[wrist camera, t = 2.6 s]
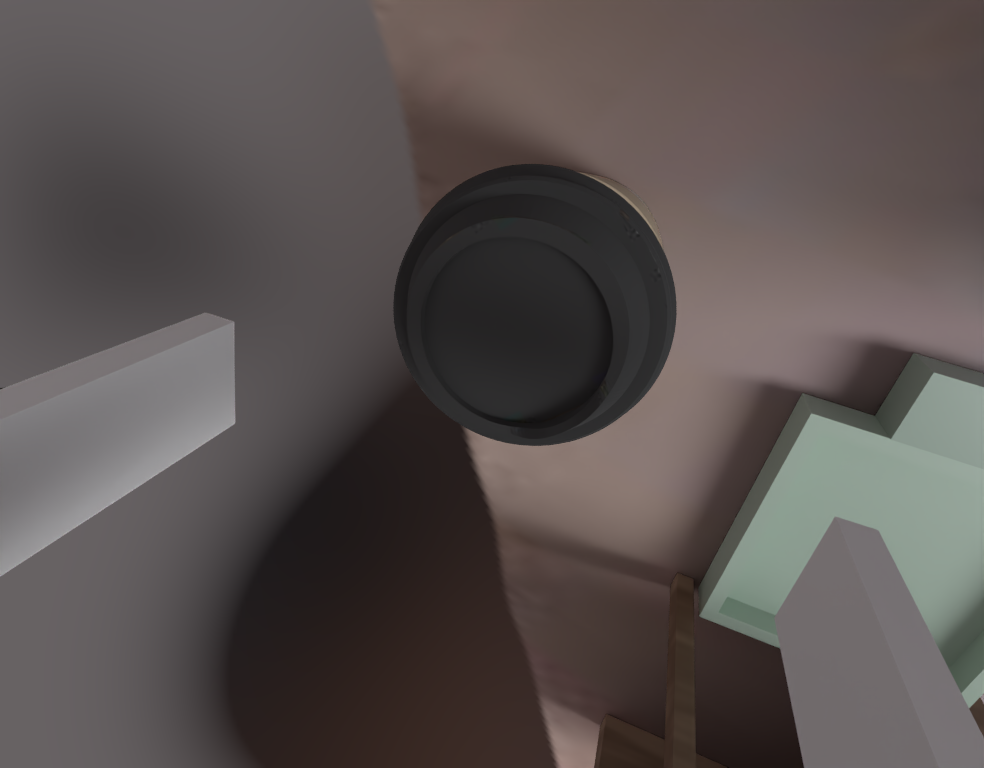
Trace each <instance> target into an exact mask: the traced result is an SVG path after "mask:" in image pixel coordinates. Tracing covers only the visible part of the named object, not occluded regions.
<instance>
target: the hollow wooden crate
mask: <svg viewBox="0 0 984 768" xmlns="http://www.w3.org/2000/svg"><path fill="white" fill-rule="evenodd" d="M969 709H970V711H971V713H972V715H973V717H974V719H975V721H976V723H977V725H978V727H979V729H980V731H981V733H982V735H983V737H984V704H983V702H982V700H981V698H979V699H978V700H977V701H976V702H975V703H974V704H973V705H972V706H971V707H970V708H969ZM594 768H728V767H726V766H723V765H721V764H719V763H717V762H714V761H712V760H710V759H707V758H705V757H703V756H701V755H698V754H696V740H695V665H694V590H693V579H692V578H690V577H687V576H685V575H682V574H679V573H677V574H676V576H675V578H674V580H673V582H672V584H671V586H670V611H669V638H668V664H667V691H666V717H665V740H664V739H662V738H660V737H657V736H655V735H653V734H651V733H648V732H646V731H644V730H642V729H639V728H637V727H635V726H632V725H630V724H628V723H626V722H623V721H621V720H619V719H616V718H614V717H612V716H610V715H607V714H606V716H605V718H604V720H603V722H602V724H601V726H600V731H599V738H598V745H597V752H596V759H595V765H594Z"/></svg>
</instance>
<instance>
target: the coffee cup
mask: <svg viewBox="0 0 984 768" xmlns="http://www.w3.org/2000/svg"><path fill="white" fill-rule="evenodd" d="M394 323H395V330H396V335H397V340H398V343H399V347H400V350H401V352H402V356H403V358H404V360H405V363H406V365H407V367H408V369H409V371H410V373H411V374H412V376H413V378H414V379H415V381H416V382H417V384H418V385H419V387H420V388H421V389H422V391H423V392H424V393H425V394H426V395H427V397H428V398H429V399H430V400H431V401H432V402H433V403H434V404H435V405H436V406H437V407H438V408H439V409H440V410H441V411H443V412H444V413H445V414H446V415H447V416H449V417H450V418H451V419H453V420H454V421H456V422H457V423H459V424H460V425H462V426H464V427H466V428H467V429H469V430H471V431H473V432H475V433H478V434H480V435H482V436H485V437H488V438H491V439H494V440H497V441H501V442H506V443H511V444H517V445H529V446H542V445H554V444H560V443H565V442H570V441H573V440H577V439H580V438H583V437H586V436H588V435H591V434H593V433H595V432H597V431H599V430H601V429H603V428H605V427H606V426H608V425H610V424H611V423H613V422H614V421H616V420H617V419H618V418H620V417H621V416H622V415H624V414H625V413H626V412H628V411H629V410H630V409H631V408H632V407H634V406H635V405H636V404H637V403H638V402H639V401H640V400H641V399H642V398H643V397H644V396H645V394H646V393H647V392H648V391H649V389H650V388H651V387H652V385H653V384H654V382H655V381H656V379H657V378H658V376H659V374H660V372H661V371H662V369H663V367H664V364H665V362H666V360H667V357H668V355H669V352H670V349H671V345H672V341H673V337H674V332H675V325H676V294H675V287H674V282H673V277H672V273H671V270H670V266H669V263H668V260H667V258H666V255H665V253H664V249H663V245H662V240H661V236H660V232H659V230H658V227H657V224H656V222H655V220H654V218H653V216H652V214H651V213H650V211H649V210H648V208H647V206H646V205H645V203H644V202H643V201H642V200H641V199H640V198H639V197H638V196H637V195H636V194H635V193H634V192H633V191H631V190H630V189H629V188H627V187H625V186H624V185H622V184H619V183H617V182H615V181H613V180H611V179H608V178H605V177H602V176H598V175H593V174H587V173H582V172H576V171H573V170H569V169H566V168H561V167H556V166H550V165H541V164H521V165H512V166H506V167H501V168H497V169H493V170H490V171H487V172H484V173H482V174H479V175H477V176H475V177H472V178H470V179H469V180H467V181H465V182H463V183H462V184H460V185H459V186H457V187H455V188H454V189H453V190H451V191H450V192H449V193H448V194H446V195H445V196H444V197H443V198H442V199H441V200H440V201H439V202H438V203H437V204H436V205H435V206H434V207H433V208H432V209H431V211H430V212H429V213H428V214H427V216H426V217H425V218H424V220H423V221H422V223H421V224H420V226H419V228H418V230H417V231H416V233H415V235H414V237H413V239H412V242H411V244H410V245H409V247H408V249H407V251H406V253H405V256H404V258H403V260H402V263H401V266H400V269H399V272H398V276H397V281H396V285H395V292H394Z"/></svg>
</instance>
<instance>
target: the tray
mask: <svg viewBox="0 0 984 768" xmlns="http://www.w3.org/2000/svg"><path fill="white" fill-rule="evenodd" d="M835 516H836V517H839V518H842V519H845V520H848V521H851V522H854V523H857V524H860V525H864V526H867V527H870V528H873V529H876V530H879V532H880V534H881V536H882V538H883V540H884V542H885V544H886V546H887V548H888V550H889V552H890V554H891V556H892V558H893V560H894V562H895V564H896V566H897V568H898V570H899V572H900V574H901V576H902V578H903V580H904V582H905V584H906V586H907V587H908V589H909V591H910V593H911V595H912V597H913V599H914V601H915V603H916V605H917V607H918V609H919V611H920V613H921V615H922V617H923V619H924V621H925V623H926V625H927V627H928V629H929V631H930V633H931V635H932V637H933V639H934V641H935V643H936V645H937V646H938V648H939V650H940V652H941V654H942V656H943V658H944V660H945V662H946V664H947V666H948V668H949V670H950V672H951V674H952V676H953V678H954V680H955V682H956V684H957V686H958V688H959V690H960V692H961V694H962V696H963V698H964V700H965V702H966V704H967V705H968V707H969V708H970V707H971V706H972V705H973V704H974V703H975V702H976V701H977V700H978V699H979V698H980V697H981V696H982V695H983V694H984V373H980V372H977V371H974V370H970V369H967V368H963V367H960V366H956V365H953V364H950V363H946V362H943V361H939V360H936V359H933V358H929V357H926V356H922V355H919V354H915V353H913V355H912V356H911V358H910V360H909V361H908V363H907V365H906V366H905V368H904V369H903V371H902V373H901V374H900V376H899V378H898V379H897V381H896V382H895V384H894V386H893V387H892V389H891V391H890V392H889V394H888V395H887V397H886V399H885V400H884V402H883V404H882V405H881V407H880V409H879V410H878V412H877V413H876V415H875V416H874V415H870V414H867V413H864V412H861V411H858V410H855V409H851V408H848V407H845V406H842V405H839V404H835V403H832V402H829V401H826V400H823V399H820V398H816V397H813V396H810V395H807V394H804V393H802V395H801V396H800V398H799V400H798V402H797V404H796V406H795V408H794V410H793V411H792V413H791V415H790V417H789V419H788V421H787V423H786V425H785V426H784V428H783V430H782V432H781V434H780V436H779V438H778V440H777V441H776V443H775V445H774V447H773V449H772V451H771V453H770V455H769V456H768V458H767V460H766V462H765V464H764V466H763V468H762V469H761V471H760V473H759V475H758V477H757V479H756V481H755V483H754V484H753V486H752V488H751V490H750V492H749V494H748V496H747V498H746V499H745V501H744V503H743V505H742V507H741V509H740V511H739V513H738V514H737V516H736V518H735V520H734V522H733V524H732V526H731V528H730V529H729V531H728V533H727V535H726V537H725V539H724V541H723V543H722V544H721V546H720V548H719V550H718V552H717V554H716V556H715V557H714V559H713V561H712V563H711V565H710V567H709V569H708V571H707V572H706V574H705V576H704V578H703V580H702V582H701V584H700V586H699V587H698V593H699V617H702V618H704V619H707V620H709V621H712V622H714V623H717V624H719V625H722V626H724V627H727V628H730V629H732V630H735V631H737V632H740V633H742V634H745V635H747V636H750V637H752V638H755V639H757V640H760V641H762V642H765V643H767V644H770V645H772V646H775V647H778V648H780V644H779V639H778V634H777V629H776V624H775V619H774V618H775V616H776V614H777V613H778V611H779V609H780V608H781V606H782V604H783V603H784V601H785V599H786V598H787V596H788V594H789V592H790V591H791V589H792V587H793V586H794V584H795V582H796V581H797V579H798V577H799V576H800V574H801V572H802V571H803V569H804V567H805V566H806V564H807V562H808V561H809V559H810V557H811V556H812V554H813V552H814V551H815V549H816V547H817V546H818V544H819V542H820V541H821V539H822V537H823V536H824V534H825V532H826V531H827V529H828V527H829V526H830V524H831V522H832V521H833V519H834V517H835Z"/></svg>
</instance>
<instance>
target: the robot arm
mask: <svg viewBox="0 0 984 768" xmlns="http://www.w3.org/2000/svg"><path fill="white" fill-rule="evenodd" d="M234 359H235V358H234V321H230V320H227V319H224V318H221V317H218V316H215V315H212V314H209V313H203V314H200V315H198V316H195V317H192V318H190V319H187V320H184V321H182V322H179V323H176V324H174V325H171V326H168V327H166V328H163V329H161V330H158V331H155V332H152V333H150V334H147V335H144V336H142V337H139V338H136V339H134V340H131V341H128V342H126V343H123V344H120V345H118V346H115V347H113V348H110V349H107V350H104V351H102V352H99V353H96V354H93V355H91V356H88V357H85V358H83V359H80V360H77V361H75V362H72V363H70V364H67V365H64V366H61V367H59V368H56V369H53V370H51V371H48V372H45V373H43V374H40V375H37V376H35V377H32V378H30V379H27V380H24V381H21V382H19V383H16V384H14V385H11V386H8V387H4V388H0V576H1V575H3V574H5V573H6V572H8V571H9V570H11V569H12V568H14V567H15V566H17V565H19V564H20V563H22V562H23V561H25V560H26V559H28V558H29V557H31V556H32V555H34V554H35V553H37V552H39V551H40V550H42V549H43V548H45V547H46V546H48V545H49V544H51V543H52V542H54V541H55V540H57V539H58V538H60V537H61V536H63V535H65V534H66V533H68V532H69V531H71V530H72V529H74V528H75V527H77V526H79V525H80V524H82V523H83V522H85V521H86V520H88V519H89V518H91V517H92V516H94V515H95V514H97V513H98V512H100V511H102V510H103V509H105V508H106V507H108V506H109V505H111V504H112V503H114V502H115V501H117V500H118V499H120V498H122V497H123V496H125V495H126V494H128V493H129V492H131V491H132V490H134V489H135V488H137V487H138V486H140V485H141V484H143V483H145V482H146V481H148V480H149V479H151V478H152V477H154V476H155V475H157V474H158V473H160V472H162V471H163V470H164V469H166V468H168V467H169V466H171V465H172V464H174V463H175V462H177V461H178V460H180V459H181V458H183V457H185V456H186V455H188V454H189V453H191V452H192V451H194V450H195V449H197V448H198V447H200V446H201V445H203V444H204V443H206V442H208V441H209V440H211V439H212V438H214V437H215V436H217V435H218V434H220V433H221V432H223V431H224V430H226V429H228V428H229V427H231V426H232V425H234V424H235V370H234V369H235V367H234V366H235V360H234ZM774 619H775V624H776V629H777V634H778V639H779V644H780V649H781V654H782V659H783V664H784V669H785V674H786V679H787V684H788V689H789V694H790V699H791V704H792V709H793V714H794V719H795V724H796V729H797V734H798V739H799V744H800V749H801V754H802V759H803V764H804V768H984V737H983V735H982V733H981V731H980V729H979V727H978V725H977V723H976V721H975V719H974V717H973V715H972V713H971V711H970V709H969V707H968V705H967V704H966V702H965V700H964V698H963V696H962V694H961V692H960V690H959V688H958V686H957V684H956V682H955V680H954V678H953V676H952V674H951V672H950V670H949V668H948V666H947V664H946V662H945V660H944V658H943V656H942V654H941V652H940V650H939V648H938V646H937V645H936V643H935V641H934V639H933V637H932V635H931V633H930V631H929V629H928V627H927V625H926V623H925V621H924V619H923V617H922V615H921V613H920V611H919V609H918V607H917V605H916V603H915V601H914V599H913V597H912V595H911V593H910V591H909V589H908V587H907V586H906V584H905V582H904V580H903V578H902V576H901V574H900V572H899V570H898V568H897V566H896V564H895V562H894V560H893V558H892V556H891V554H890V552H889V550H888V548H887V546H886V544H885V542H884V540H883V538H882V536H881V534H880V532H879V530H876V529H873V528H870V527H867V526H864V525H860V524H857V523H854V522H851V521H848V520H845V519H842V518H839V517H836V516H835V517H834V519H833V521H832V522H831V524H830V526H829V527H828V529H827V531H826V532H825V534H824V536H823V537H822V539H821V541H820V542H819V544H818V546H817V547H816V549H815V551H814V552H813V554H812V556H811V557H810V559H809V561H808V562H807V564H806V566H805V567H804V569H803V571H802V572H801V574H800V576H799V577H798V579H797V581H796V582H795V584H794V586H793V587H792V589H791V591H790V592H789V594H788V596H787V598H786V599H785V601H784V603H783V604H782V606H781V608H780V609H779V611H778V613H777V614H776V616H775V618H774Z"/></svg>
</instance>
